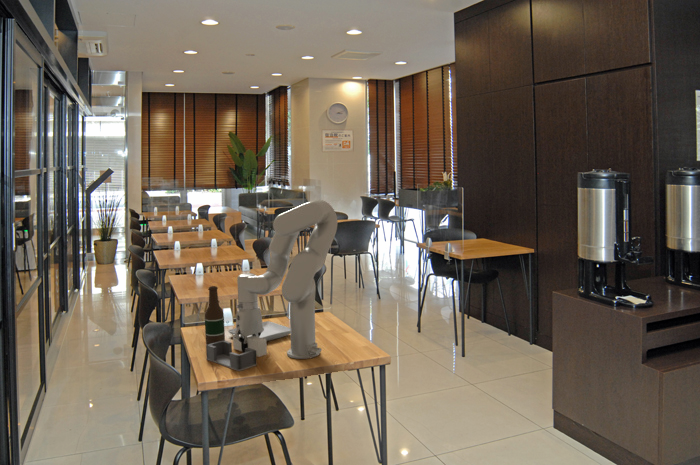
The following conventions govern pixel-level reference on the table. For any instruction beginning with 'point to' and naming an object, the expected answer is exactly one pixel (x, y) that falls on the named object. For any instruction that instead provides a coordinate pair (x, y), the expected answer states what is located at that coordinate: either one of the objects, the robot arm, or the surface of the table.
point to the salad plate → (270, 331)
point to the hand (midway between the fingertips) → (249, 350)
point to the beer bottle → (214, 319)
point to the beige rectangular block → (252, 344)
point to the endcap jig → (230, 356)
